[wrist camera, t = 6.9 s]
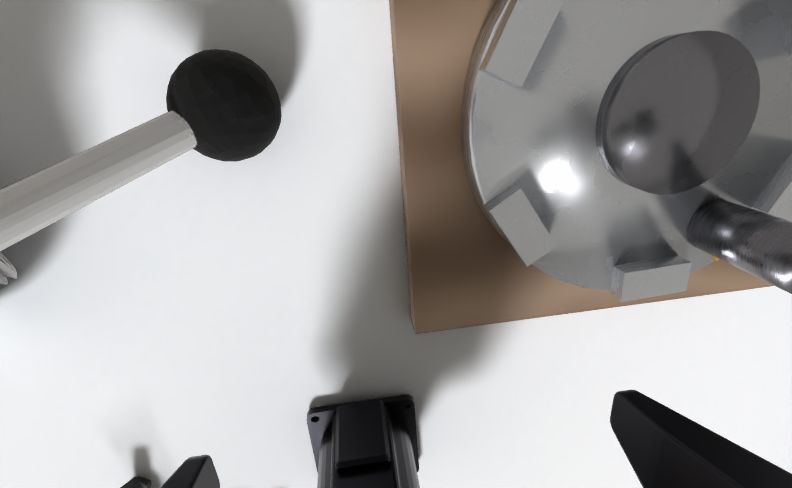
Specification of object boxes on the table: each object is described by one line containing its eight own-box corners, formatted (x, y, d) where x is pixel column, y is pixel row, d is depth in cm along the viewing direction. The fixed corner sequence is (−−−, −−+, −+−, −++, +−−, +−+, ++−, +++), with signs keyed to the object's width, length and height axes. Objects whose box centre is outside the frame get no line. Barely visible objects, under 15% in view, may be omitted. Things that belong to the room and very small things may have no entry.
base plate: (750, 274, 25) (778, 288, 23) (411, 318, 23) (416, 337, 22) (883, -179, 17) (942, -207, 15) (377, -164, 15) (382, -194, 13)
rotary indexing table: (386, 72, 16) (410, 68, 10) (748, -223, 14) (1039, -438, 8) (560, 326, 22) (640, 416, 16) (835, 145, 20) (1042, 173, 14)
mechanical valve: (-382, 211, 14) (-1410, 237, 4) (114, 44, 24) (216, -79, 13) (-104, 396, 19) (-212, 636, 9) (215, 194, 29) (349, 191, 18)
